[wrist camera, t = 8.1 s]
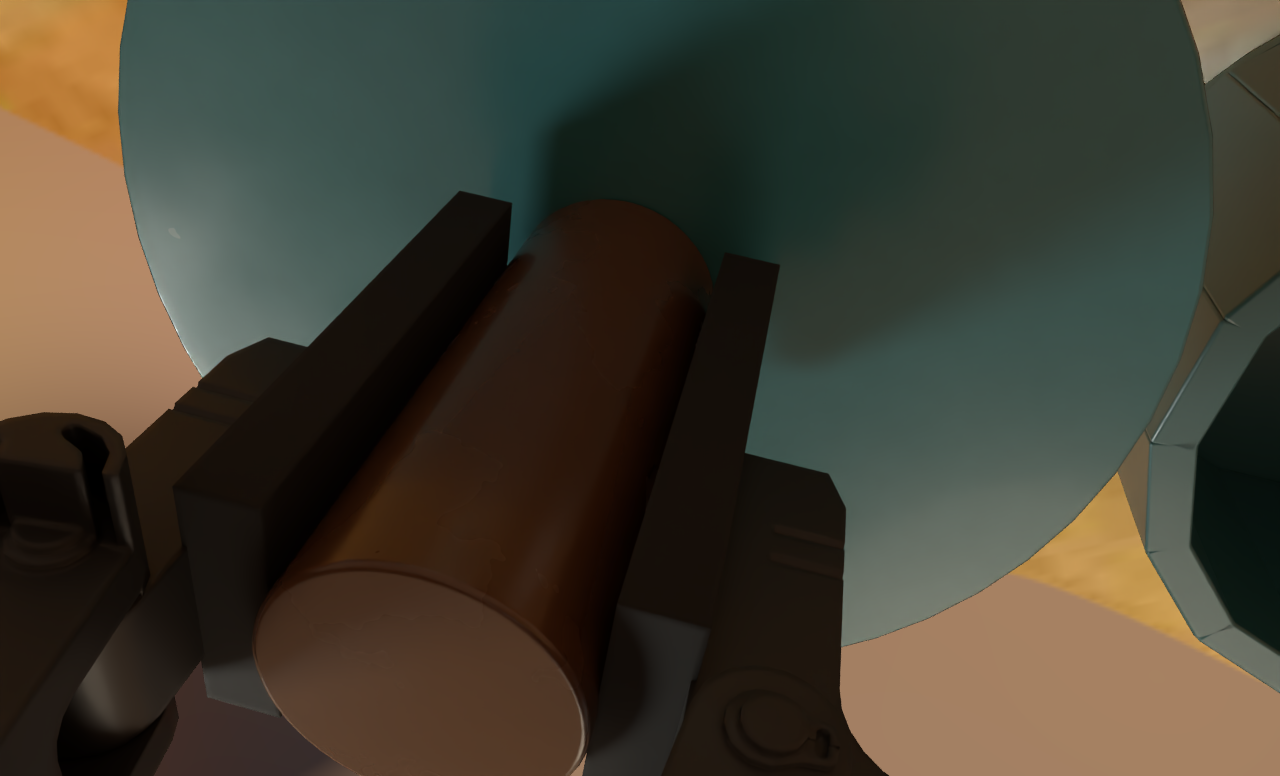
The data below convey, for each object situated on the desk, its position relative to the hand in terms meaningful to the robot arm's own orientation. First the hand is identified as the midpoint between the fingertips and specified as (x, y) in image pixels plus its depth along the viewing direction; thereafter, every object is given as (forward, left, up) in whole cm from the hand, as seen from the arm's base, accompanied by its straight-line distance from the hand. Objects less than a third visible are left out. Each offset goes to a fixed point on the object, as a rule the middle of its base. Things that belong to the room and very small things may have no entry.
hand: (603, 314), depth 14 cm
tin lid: (0, 0, -1) cm, 1 cm away
